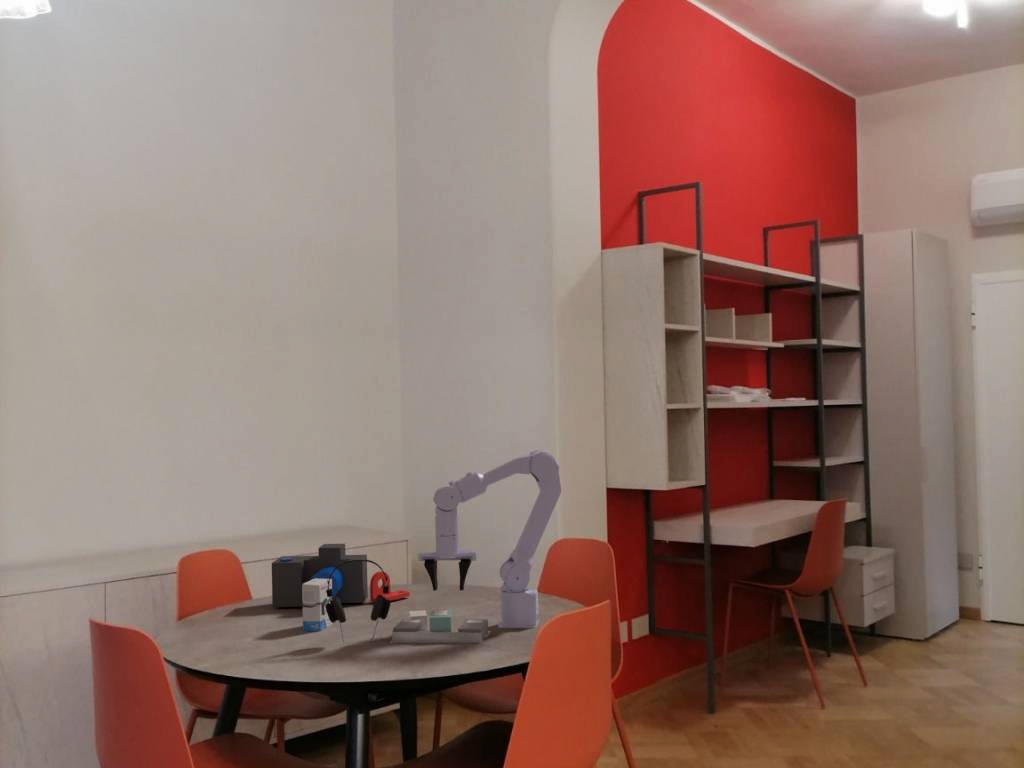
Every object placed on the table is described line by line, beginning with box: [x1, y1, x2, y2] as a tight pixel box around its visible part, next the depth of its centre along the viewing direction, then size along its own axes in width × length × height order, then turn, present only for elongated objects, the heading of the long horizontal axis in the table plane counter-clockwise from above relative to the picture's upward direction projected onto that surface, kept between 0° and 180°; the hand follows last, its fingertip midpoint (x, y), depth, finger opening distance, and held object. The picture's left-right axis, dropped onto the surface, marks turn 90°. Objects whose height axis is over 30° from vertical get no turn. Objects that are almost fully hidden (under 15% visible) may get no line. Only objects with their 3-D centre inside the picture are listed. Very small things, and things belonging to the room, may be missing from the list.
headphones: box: [325, 558, 391, 643], centre depth 222 cm, size 15×11×20 cm
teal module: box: [429, 609, 453, 631], centre depth 223 cm, size 5×8×6 cm, turn 3°
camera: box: [271, 543, 369, 608], centre depth 266 cm, size 25×16×16 cm, turn 89°
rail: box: [391, 630, 483, 644], centre depth 218 cm, size 21×1×2 cm, turn 82°
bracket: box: [369, 570, 411, 603], centre depth 272 cm, size 12×4×8 cm, turn 141°
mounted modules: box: [392, 618, 489, 642], centre depth 223 cm, size 21×10×3 cm, turn 82°
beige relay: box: [408, 609, 428, 630], centre depth 234 cm, size 4×6×4 cm, turn 10°
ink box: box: [302, 578, 334, 632], centre depth 238 cm, size 8×5×12 cm, turn 168°
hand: (448, 589), depth 232 cm, fingers open, 6 cm apart
